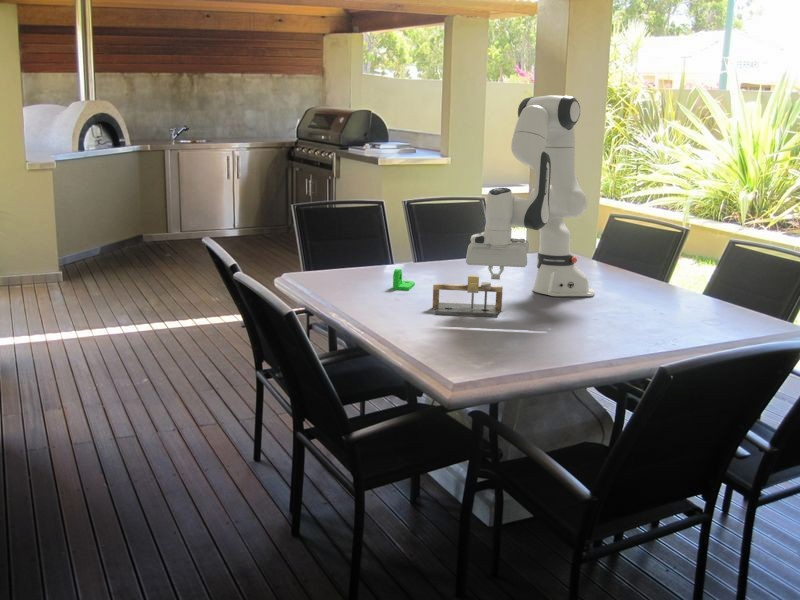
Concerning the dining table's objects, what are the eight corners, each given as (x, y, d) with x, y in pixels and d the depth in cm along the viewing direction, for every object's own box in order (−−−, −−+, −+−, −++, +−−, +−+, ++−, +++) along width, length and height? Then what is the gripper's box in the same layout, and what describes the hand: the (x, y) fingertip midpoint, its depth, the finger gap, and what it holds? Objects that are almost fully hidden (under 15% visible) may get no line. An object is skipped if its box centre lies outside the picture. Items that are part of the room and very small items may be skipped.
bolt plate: (496, 308, 286) (496, 304, 286) (497, 317, 274) (497, 313, 273) (437, 305, 288) (437, 302, 288) (435, 314, 275) (435, 310, 275)
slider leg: (477, 304, 285) (478, 275, 283) (477, 309, 278) (478, 279, 276) (466, 303, 285) (468, 274, 283) (466, 308, 278) (467, 278, 276)
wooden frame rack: (501, 310, 284) (502, 282, 282) (501, 314, 277) (503, 286, 275) (432, 307, 286) (433, 280, 284) (431, 311, 279) (432, 283, 277)
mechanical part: (408, 292, 310) (409, 271, 308) (392, 291, 311) (393, 270, 310) (416, 286, 321) (416, 265, 319) (400, 285, 323) (401, 264, 321)
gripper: (528, 237, 280) (526, 278, 283) (467, 235, 281) (465, 276, 284) (530, 240, 274) (527, 282, 277) (466, 238, 275) (465, 279, 278)
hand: (495, 279), depth 280 cm, fingers closed
